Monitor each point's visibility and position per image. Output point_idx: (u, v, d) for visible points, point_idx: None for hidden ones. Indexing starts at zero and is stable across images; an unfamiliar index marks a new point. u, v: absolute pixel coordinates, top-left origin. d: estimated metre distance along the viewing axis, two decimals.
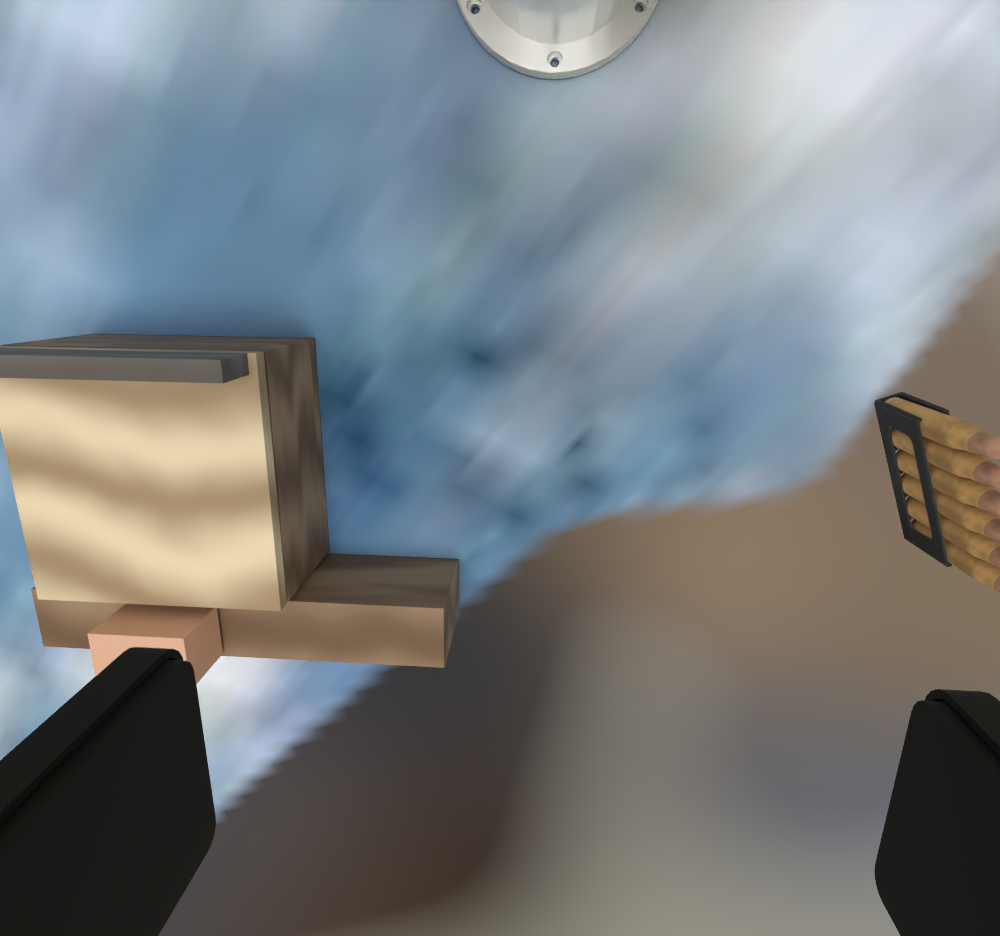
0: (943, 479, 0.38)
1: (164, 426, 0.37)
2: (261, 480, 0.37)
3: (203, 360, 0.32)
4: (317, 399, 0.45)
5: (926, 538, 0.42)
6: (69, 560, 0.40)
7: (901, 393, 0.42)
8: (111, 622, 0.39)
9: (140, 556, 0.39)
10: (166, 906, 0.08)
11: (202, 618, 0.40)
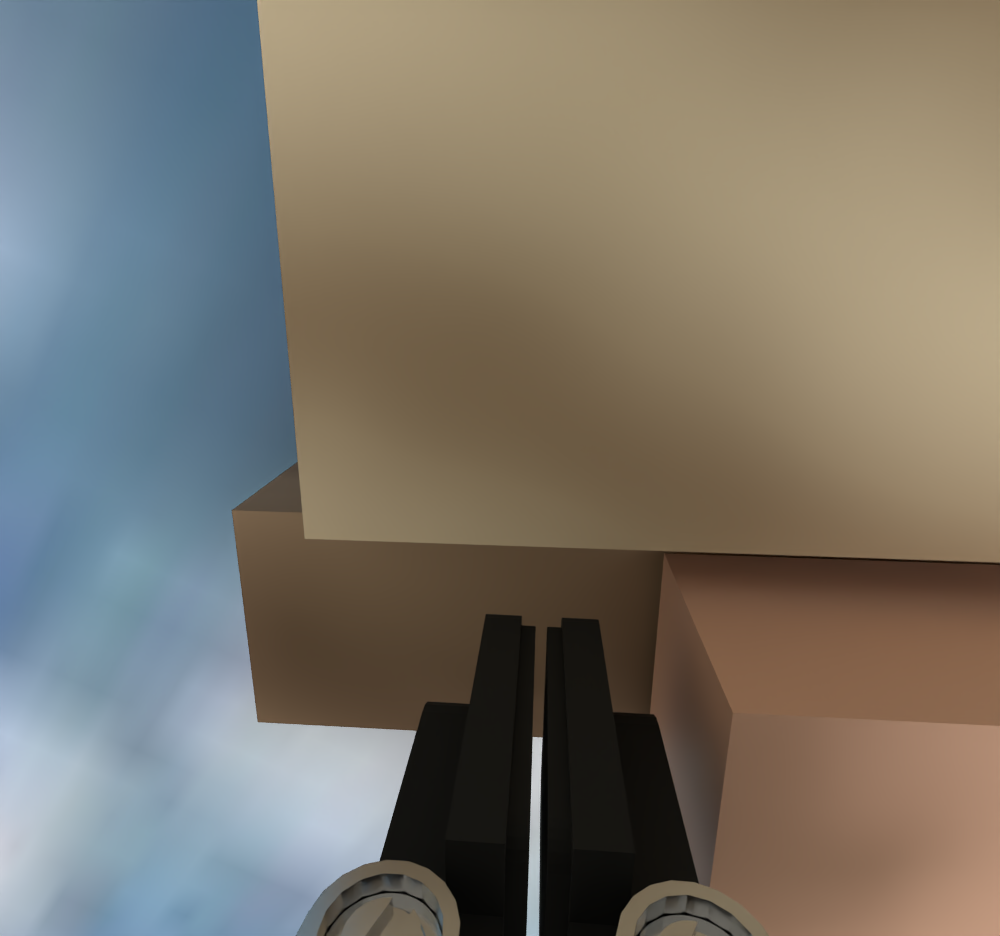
0: None
1: None
2: None
3: None
4: None
5: None
6: (488, 343, 0.08)
7: None
8: (747, 642, 0.08)
9: (874, 305, 0.08)
10: None
11: None
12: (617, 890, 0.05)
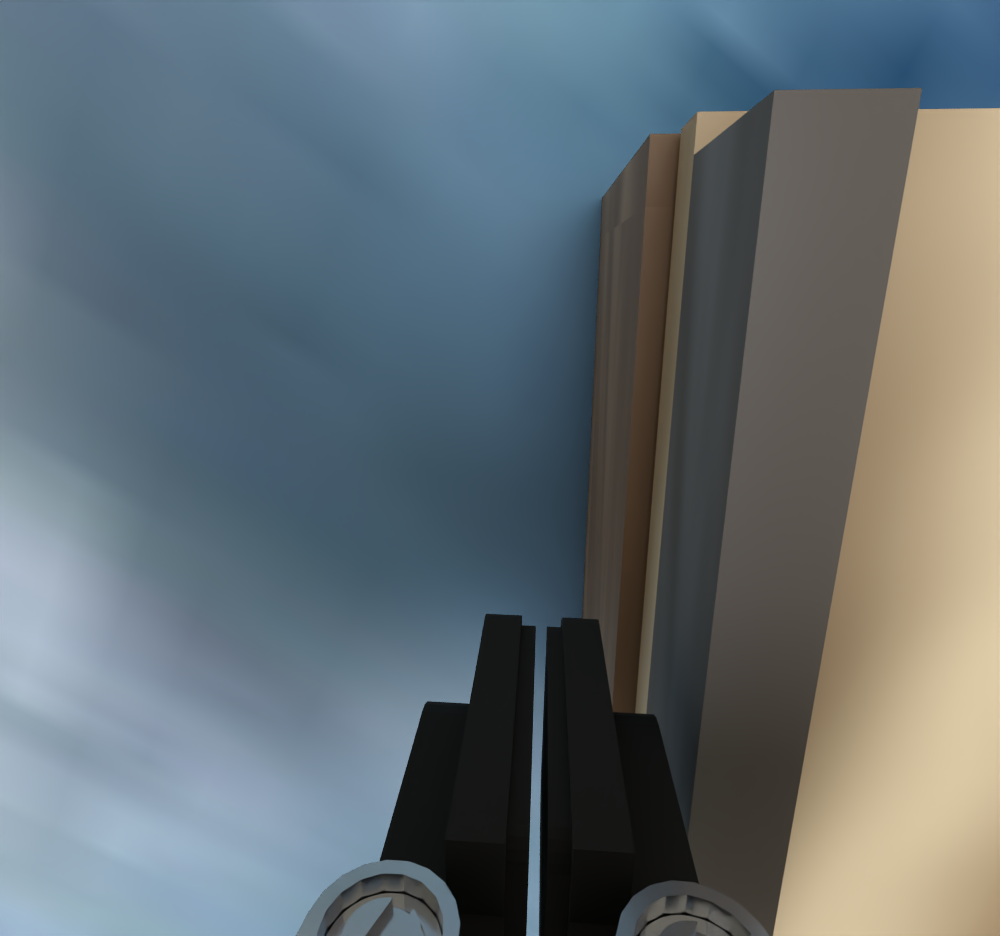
0: None
1: (952, 547, 0.10)
2: None
3: (767, 203, 0.06)
4: None
5: None
6: None
7: None
8: None
9: None
10: None
11: None
12: (617, 890, 0.05)
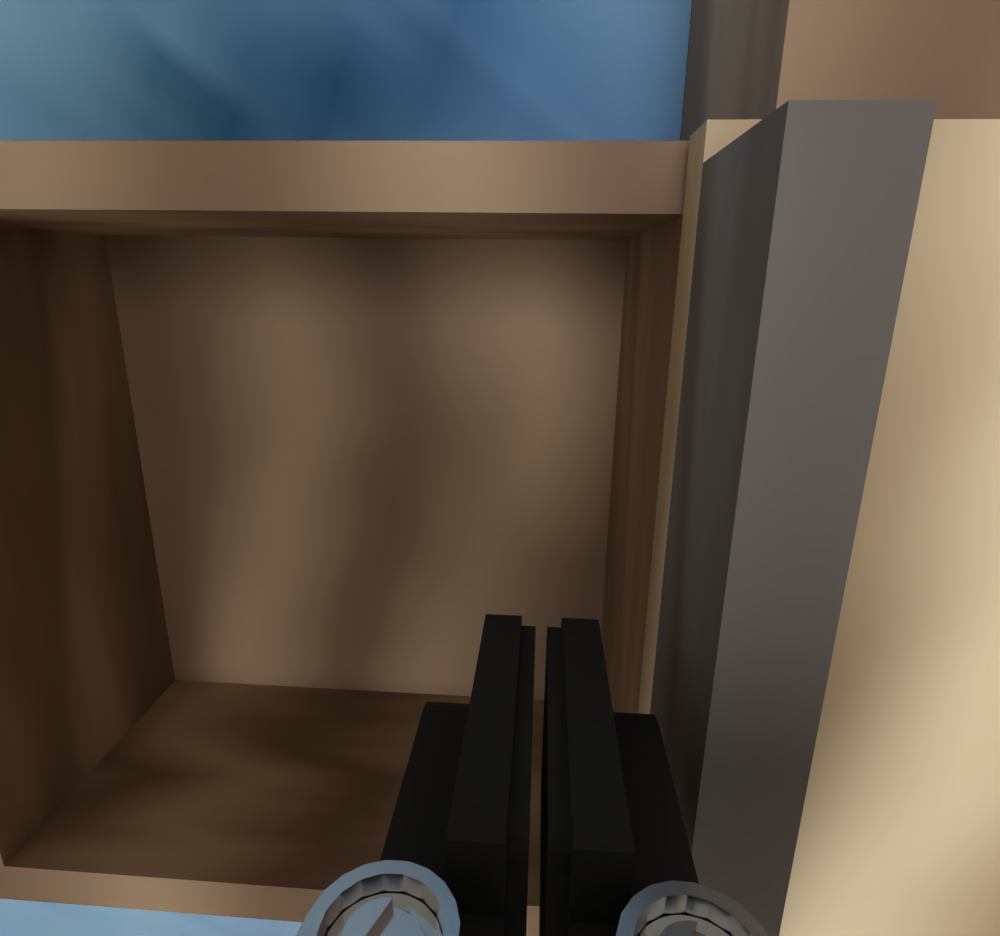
0: None
1: (959, 559, 0.09)
2: None
3: (779, 214, 0.06)
4: None
5: None
6: None
7: None
8: None
9: None
10: None
11: None
12: (617, 890, 0.05)
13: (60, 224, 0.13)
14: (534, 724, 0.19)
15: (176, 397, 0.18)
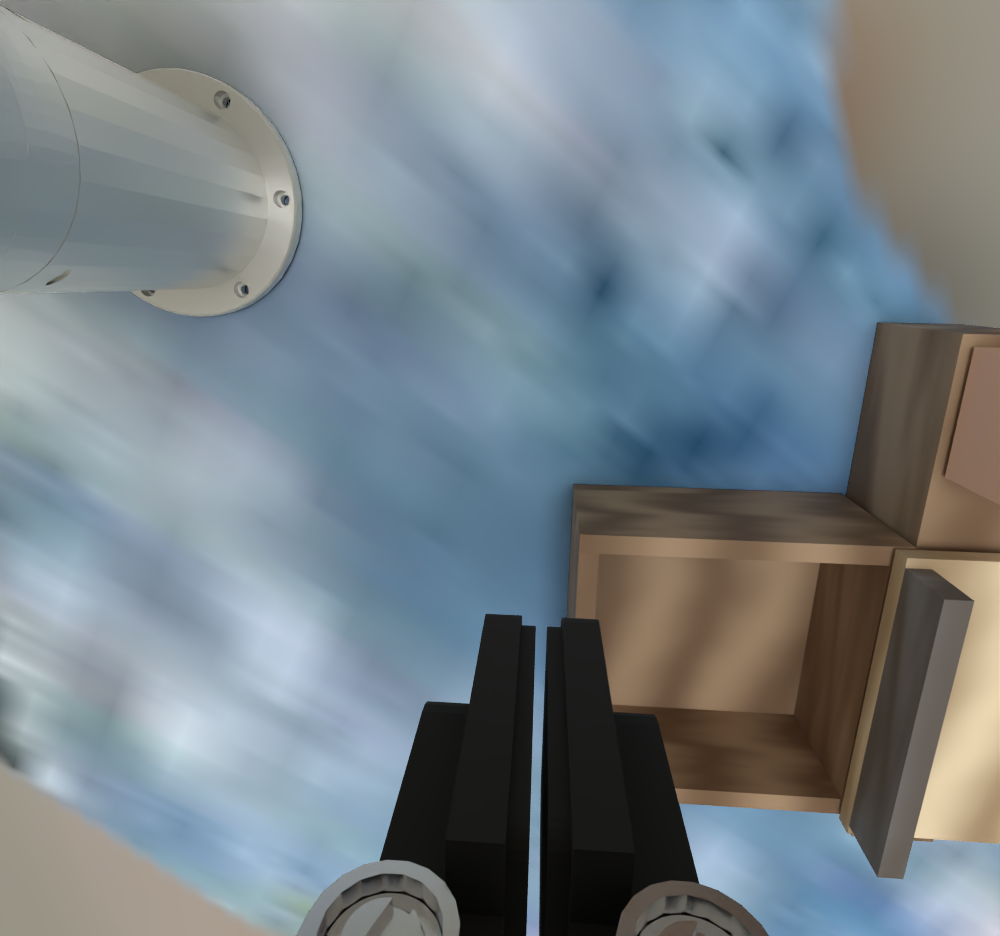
0: None
1: (976, 674, 0.30)
2: None
3: (941, 618, 0.27)
4: (643, 487, 0.38)
5: None
6: None
7: None
8: (985, 483, 0.27)
9: None
10: None
11: None
12: (617, 890, 0.05)
13: None
14: (768, 725, 0.40)
15: (608, 572, 0.39)
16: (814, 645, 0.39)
